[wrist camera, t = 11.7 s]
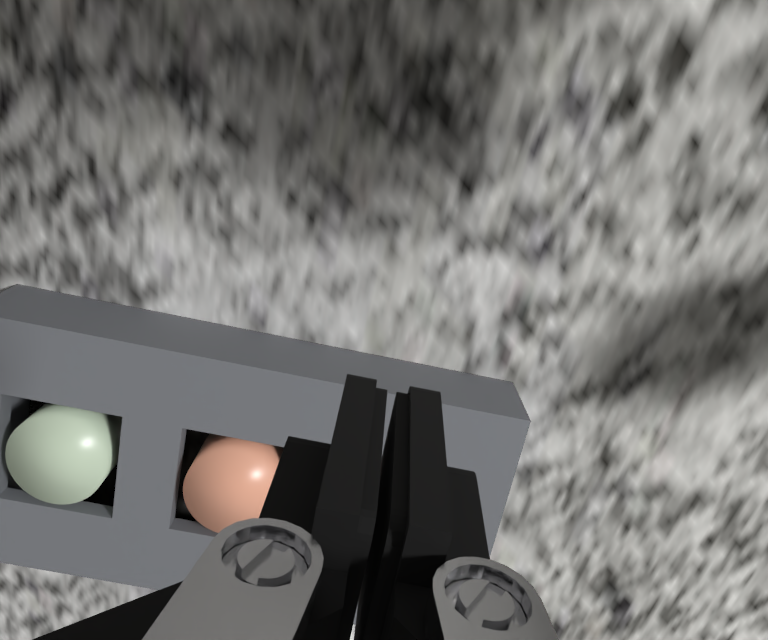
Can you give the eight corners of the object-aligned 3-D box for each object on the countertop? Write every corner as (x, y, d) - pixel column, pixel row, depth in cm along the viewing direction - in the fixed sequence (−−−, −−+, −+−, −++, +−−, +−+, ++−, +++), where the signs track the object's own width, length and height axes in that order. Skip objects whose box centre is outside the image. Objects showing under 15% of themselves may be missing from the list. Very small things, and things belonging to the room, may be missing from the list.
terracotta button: (296, 428, 37) (287, 460, 34) (282, 505, 39) (272, 543, 35) (206, 411, 37) (189, 441, 33) (196, 490, 38) (177, 526, 35)
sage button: (134, 398, 37) (108, 426, 33) (126, 477, 38) (100, 512, 35) (42, 380, 36) (7, 407, 33) (37, 460, 38) (3, 494, 34)
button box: (512, 382, 38) (530, 421, 33) (454, 583, 42) (463, 643, 38) (17, 284, 37) (-39, 310, 32) (7, 502, 41) (-44, 554, 36)
